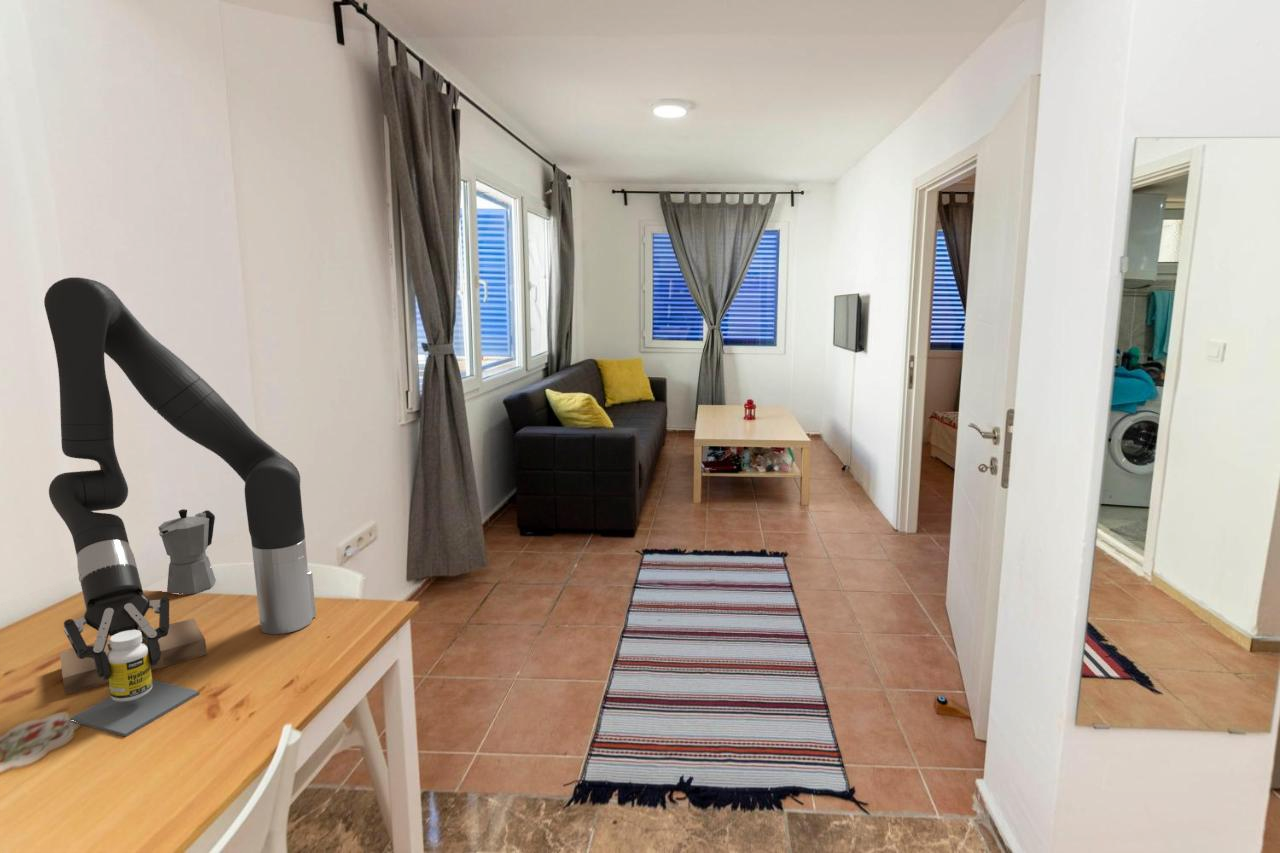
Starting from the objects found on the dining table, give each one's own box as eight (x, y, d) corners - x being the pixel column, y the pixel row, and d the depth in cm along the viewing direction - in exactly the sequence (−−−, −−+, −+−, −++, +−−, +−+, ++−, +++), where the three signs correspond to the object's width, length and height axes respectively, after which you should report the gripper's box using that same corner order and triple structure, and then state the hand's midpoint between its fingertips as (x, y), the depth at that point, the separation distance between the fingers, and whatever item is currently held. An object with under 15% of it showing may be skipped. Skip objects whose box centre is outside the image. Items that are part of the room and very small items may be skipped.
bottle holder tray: (65, 694, 114) (62, 678, 114) (62, 668, 122) (59, 652, 122) (206, 654, 127) (205, 639, 127) (195, 632, 135) (193, 618, 135)
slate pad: (146, 680, 118) (146, 677, 118) (199, 693, 115) (199, 691, 115) (69, 720, 107) (69, 717, 107) (125, 736, 104) (125, 733, 103)
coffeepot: (189, 601, 149) (179, 520, 146) (149, 598, 150) (138, 518, 147) (238, 572, 164) (230, 498, 161) (200, 571, 165) (192, 497, 162)
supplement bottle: (131, 704, 107) (123, 646, 106) (102, 700, 108) (93, 641, 107) (161, 685, 113) (155, 629, 111) (133, 681, 114) (126, 625, 112)
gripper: (51, 575, 107) (72, 678, 101) (163, 553, 117) (188, 645, 111) (52, 597, 112) (72, 696, 106) (159, 573, 122) (183, 663, 116)
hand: (131, 669), depth 108 cm, fingers closed on supplement bottle, 5 cm apart
